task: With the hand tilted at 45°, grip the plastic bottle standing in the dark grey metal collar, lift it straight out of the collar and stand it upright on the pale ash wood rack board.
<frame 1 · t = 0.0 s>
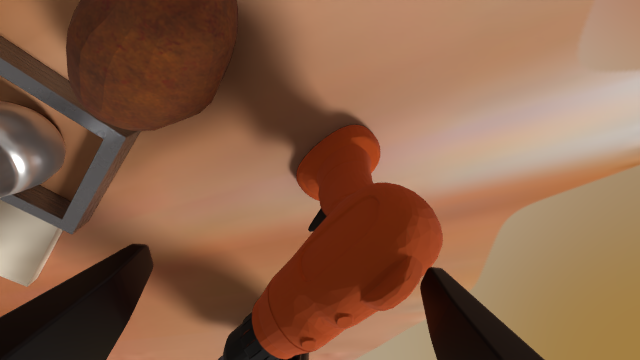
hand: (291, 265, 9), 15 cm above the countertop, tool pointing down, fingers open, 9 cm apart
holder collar: (36, 135, 22), on the countertop
toy drill: (301, 190, 25), on the countertop
potato: (188, 47, 19), on the countertop
plastic bottle: (38, 134, 22), resting in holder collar
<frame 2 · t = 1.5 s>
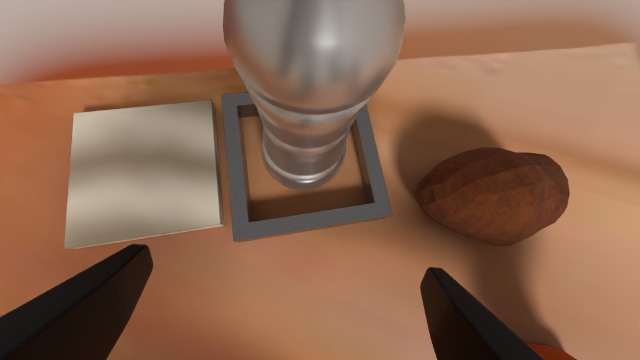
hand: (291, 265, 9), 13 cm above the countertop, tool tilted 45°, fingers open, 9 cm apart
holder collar: (303, 160, 24), on the countertop
rack board: (152, 171, 22), on the countertop
potato: (464, 203, 24), on the countertop
plastic bottle: (303, 161, 24), resting in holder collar
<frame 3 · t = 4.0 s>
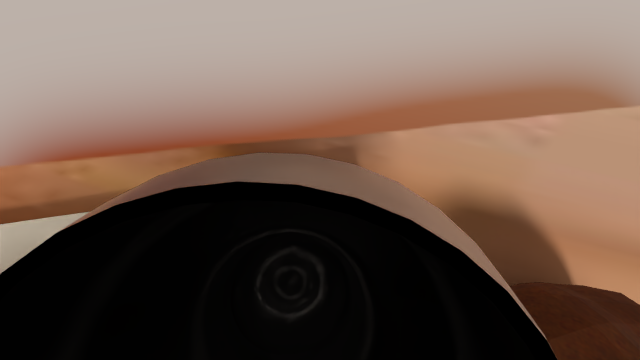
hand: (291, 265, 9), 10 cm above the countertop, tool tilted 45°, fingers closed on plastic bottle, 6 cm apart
rack board: (79, 306, 16), on the countertop
potato: (509, 336, 18), on the countertop
plastic bottle: (291, 281, 18), resting in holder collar, touching gripper
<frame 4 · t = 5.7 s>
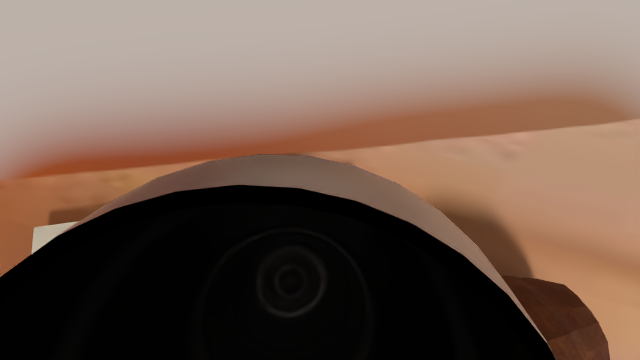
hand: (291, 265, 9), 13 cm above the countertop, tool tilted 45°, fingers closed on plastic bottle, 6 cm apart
rack board: (124, 291, 20), on the countertop
potato: (478, 320, 22), on the countertop
plastic bottle: (292, 279, 18), point 3 cm above the countertop, touching gripper
when the fingers open (11 cm above the countertop, at t = 7.7 s): plastic bottle stays where it is, resting on rack board.
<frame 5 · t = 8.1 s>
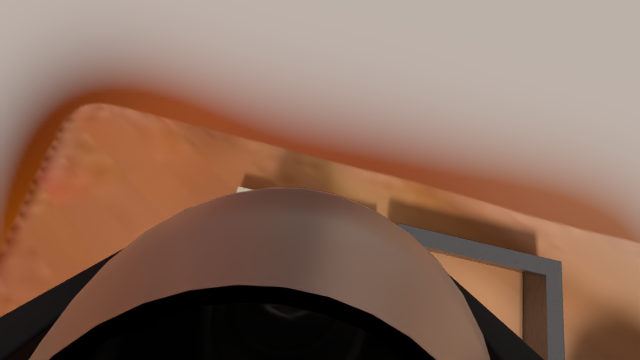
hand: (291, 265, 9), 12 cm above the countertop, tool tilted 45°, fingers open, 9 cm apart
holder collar: (458, 327, 20), on the countertop
plastic bottle: (291, 281, 18), point 1 cm above the countertop, touching rack board
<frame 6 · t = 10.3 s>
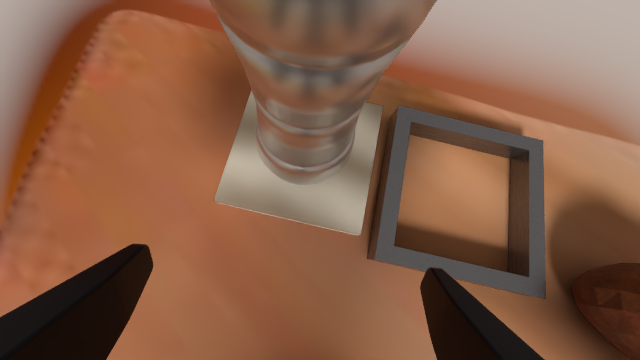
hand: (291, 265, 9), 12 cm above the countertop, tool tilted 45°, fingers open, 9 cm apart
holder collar: (451, 199, 22), on the countertop
rack board: (304, 155, 22), on the countertop
potato: (613, 313, 21), on the countertop
plastic bottle: (304, 152, 21), point 1 cm above the countertop, touching rack board
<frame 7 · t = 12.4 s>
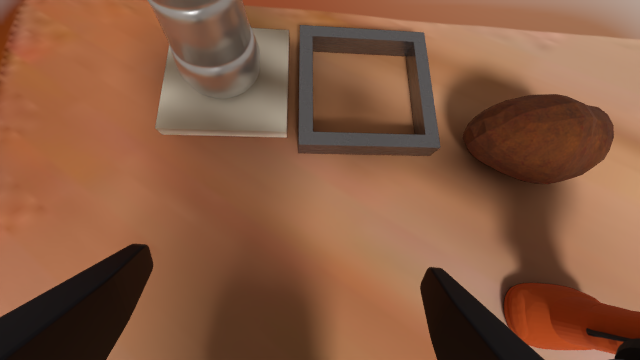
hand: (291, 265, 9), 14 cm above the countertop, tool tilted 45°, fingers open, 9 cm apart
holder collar: (361, 95, 26), on the countertop
rack board: (230, 83, 25), on the countertop
toy drill: (493, 310, 22), on the countertop
potato: (504, 157, 26), on the countertop
plastic bottle: (227, 78, 24), point 1 cm above the countertop, touching rack board
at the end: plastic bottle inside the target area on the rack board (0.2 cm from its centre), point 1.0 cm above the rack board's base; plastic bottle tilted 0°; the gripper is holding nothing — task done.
